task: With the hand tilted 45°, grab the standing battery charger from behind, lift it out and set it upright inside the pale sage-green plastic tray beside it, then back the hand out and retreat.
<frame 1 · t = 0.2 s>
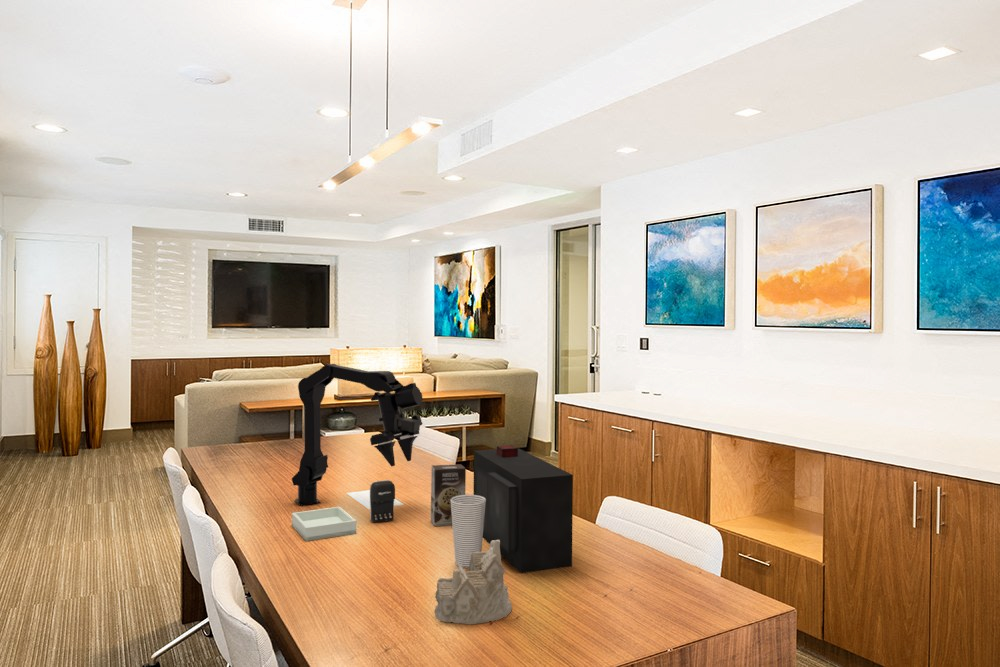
hand: (401, 463, 203), 15 cm above the table, fingers open, 9 cm apart
cup: (467, 564, 163), on the table
tray: (323, 529, 188), on the table
ceramic cottage: (473, 607, 139), on the table
speaker: (514, 547, 175), on the table
battery charger: (382, 521, 196), on the table
coffee box: (447, 522, 196), on the table
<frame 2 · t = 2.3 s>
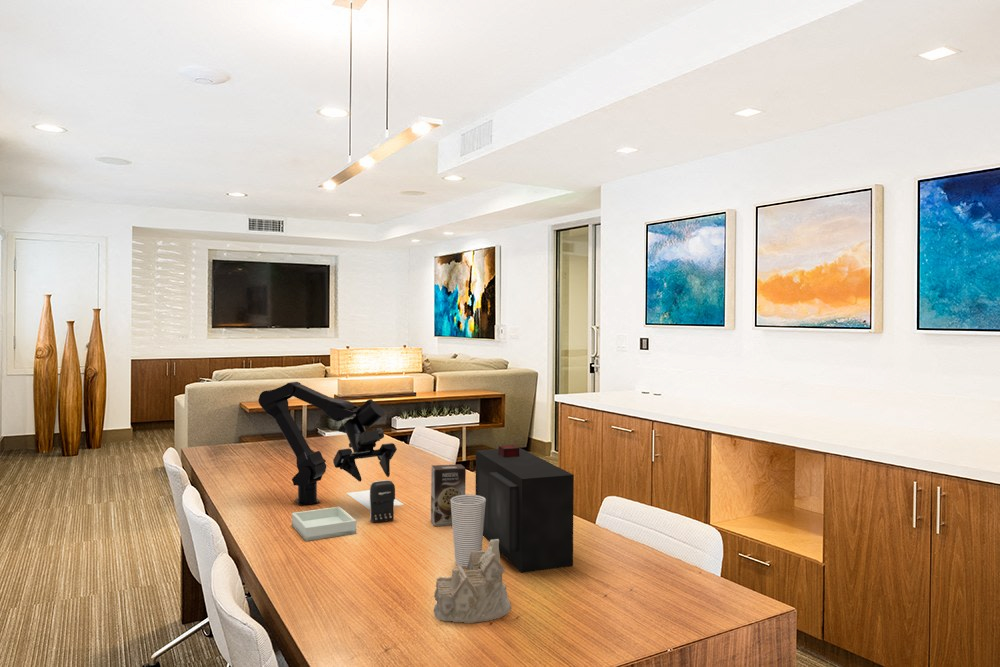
hand: (374, 478, 200), 11 cm above the table, fingers open, 9 cm apart
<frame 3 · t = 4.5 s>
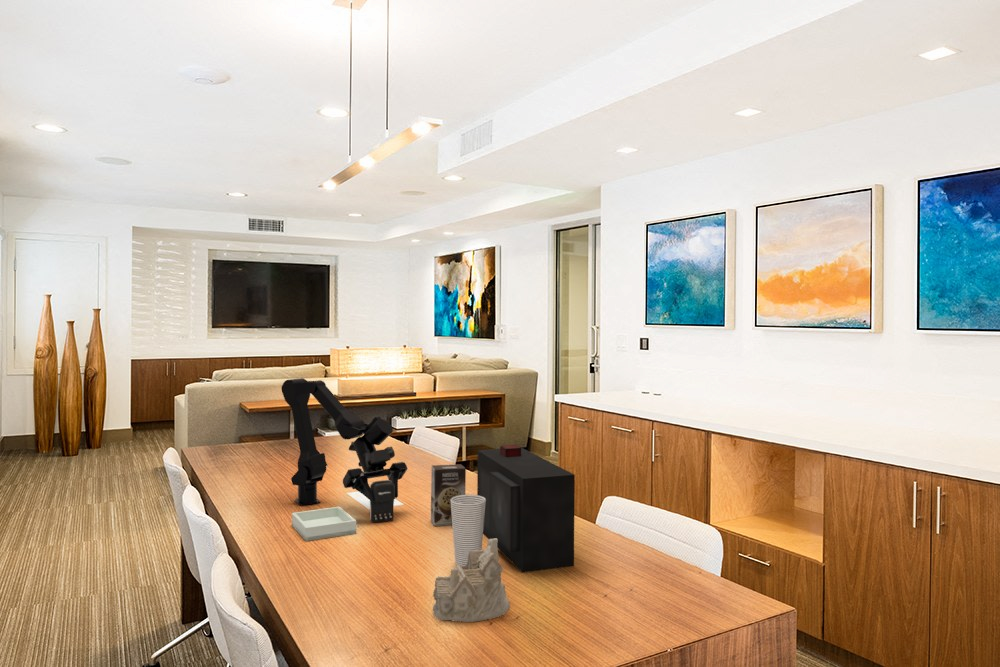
hand: (385, 499, 195), 7 cm above the table, fingers closed on battery charger, 7 cm apart
battery charger: (382, 521, 196), on the table, touching gripper
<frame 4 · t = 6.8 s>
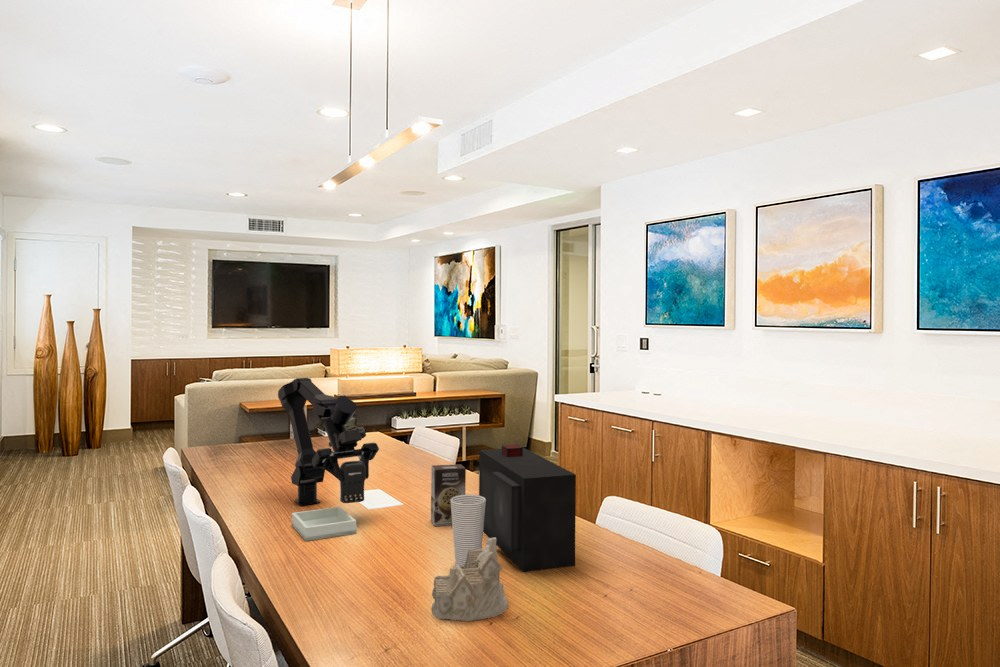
hand: (355, 479, 191), 13 cm above the table, fingers closed on battery charger, 7 cm apart
battery charger: (352, 502, 192), point 6 cm above the table, touching gripper
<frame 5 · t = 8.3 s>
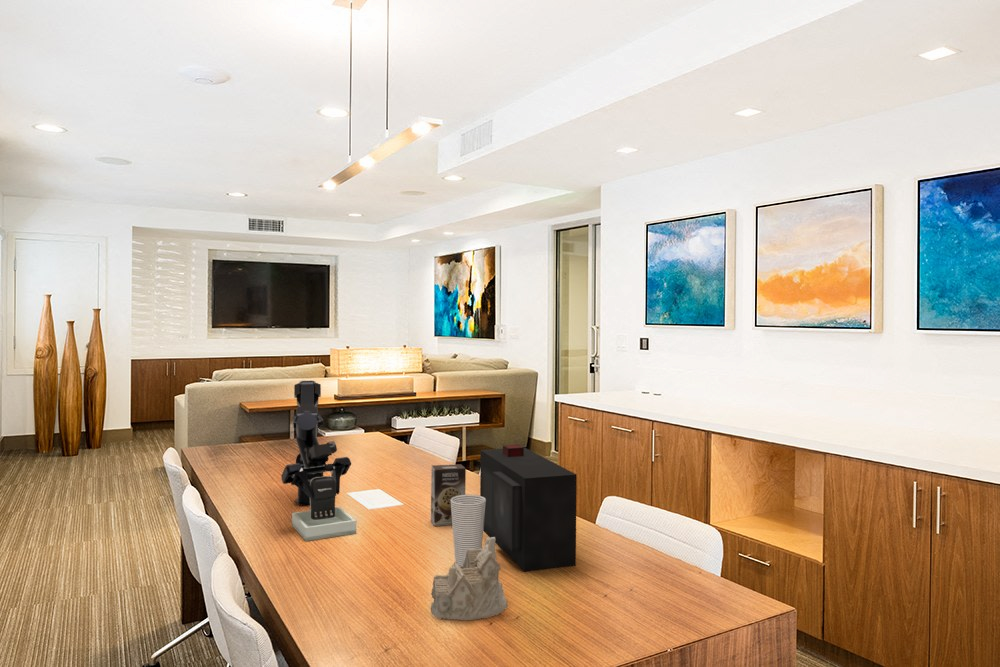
hand: (325, 495, 187), 10 cm above the table, fingers closed on battery charger, 7 cm apart
battery charger: (323, 519, 188), point 3 cm above the table, touching gripper
when the fingers open (9 cm above the table, at t = 9.3 s): battery charger drops 2 cm, resting on tray.
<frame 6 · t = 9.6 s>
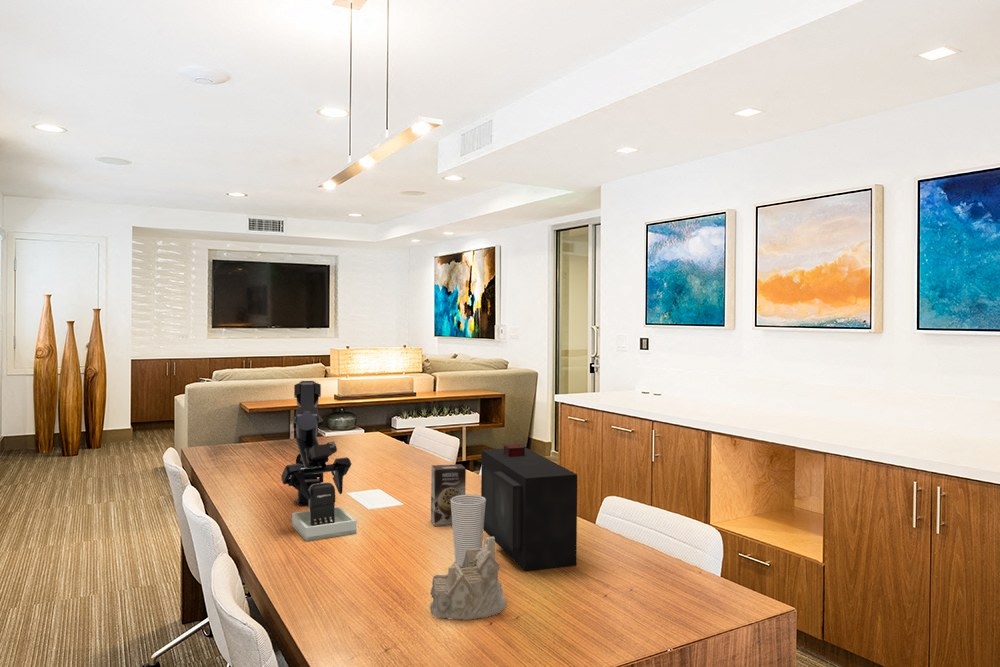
hand: (325, 496, 187), 10 cm above the table, fingers open, 9 cm apart
battery charger: (323, 525, 188), point 1 cm above the table, touching tray
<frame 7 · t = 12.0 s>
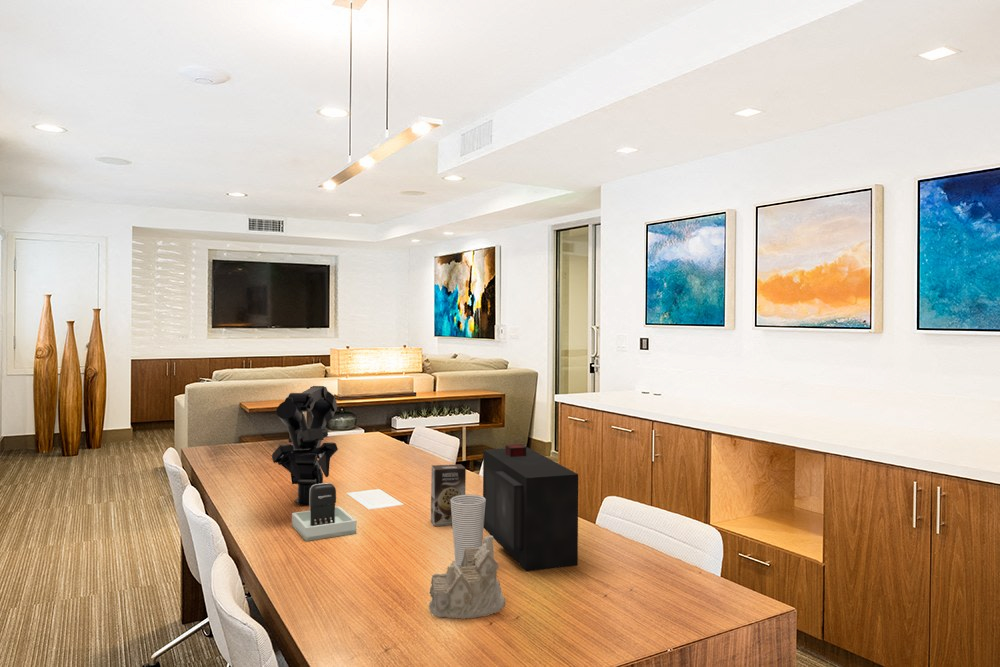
hand: (313, 477, 196), 12 cm above the table, fingers open, 9 cm apart
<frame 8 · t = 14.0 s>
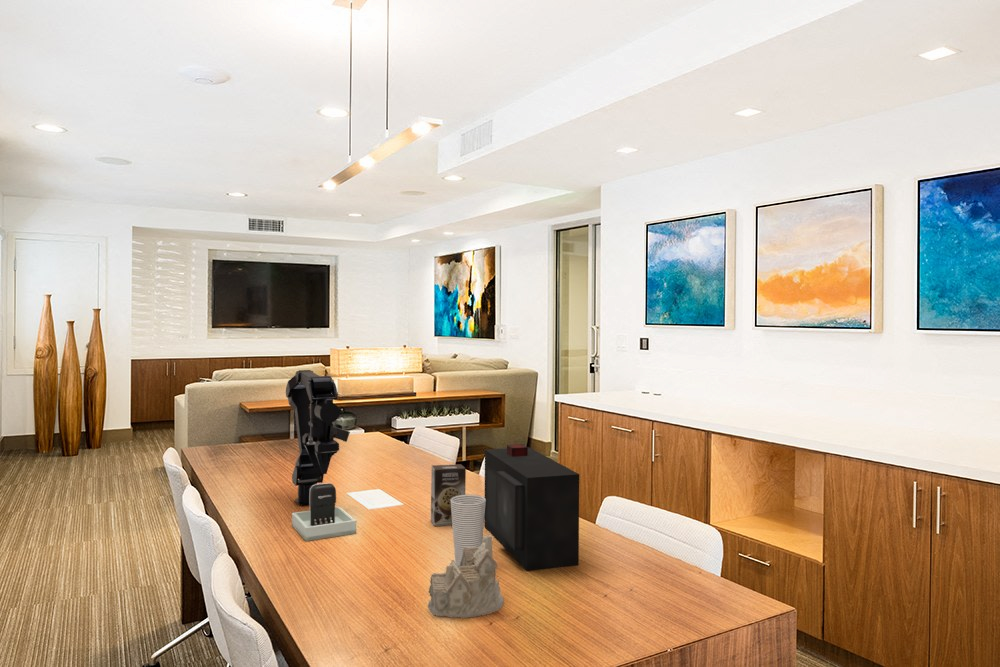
hand: (320, 470, 202), 13 cm above the table, fingers open, 9 cm apart
at the end: battery charger inside the target area on the tray (0.1 cm from its centre), point 0.8 cm above the tray's base; battery charger tilted 0°; the gripper is holding nothing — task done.
